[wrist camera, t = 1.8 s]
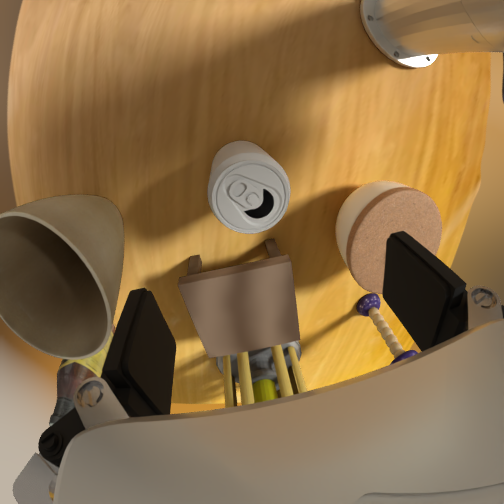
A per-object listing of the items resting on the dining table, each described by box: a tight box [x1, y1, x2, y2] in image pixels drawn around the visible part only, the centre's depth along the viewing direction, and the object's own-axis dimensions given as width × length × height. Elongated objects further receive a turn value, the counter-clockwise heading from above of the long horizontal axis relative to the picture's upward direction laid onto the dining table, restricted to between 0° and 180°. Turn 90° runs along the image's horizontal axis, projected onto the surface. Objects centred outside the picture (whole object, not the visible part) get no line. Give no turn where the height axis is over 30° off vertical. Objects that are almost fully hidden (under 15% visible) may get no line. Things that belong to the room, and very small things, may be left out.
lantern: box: [216, 341, 307, 408], centre depth 34 cm, size 14×14×25 cm
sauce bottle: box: [49, 324, 115, 426], centre depth 30 cm, size 6×6×20 cm
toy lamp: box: [357, 293, 418, 365], centre depth 35 cm, size 5×5×17 cm
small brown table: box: [178, 239, 300, 358], centre depth 35 cm, size 12×12×7 cm
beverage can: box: [208, 141, 290, 234], centre depth 25 cm, size 6×6×12 cm
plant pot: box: [0, 194, 124, 360], centre depth 24 cm, size 15×15×16 cm
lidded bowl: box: [336, 181, 442, 294], centre depth 30 cm, size 13×13×11 cm
